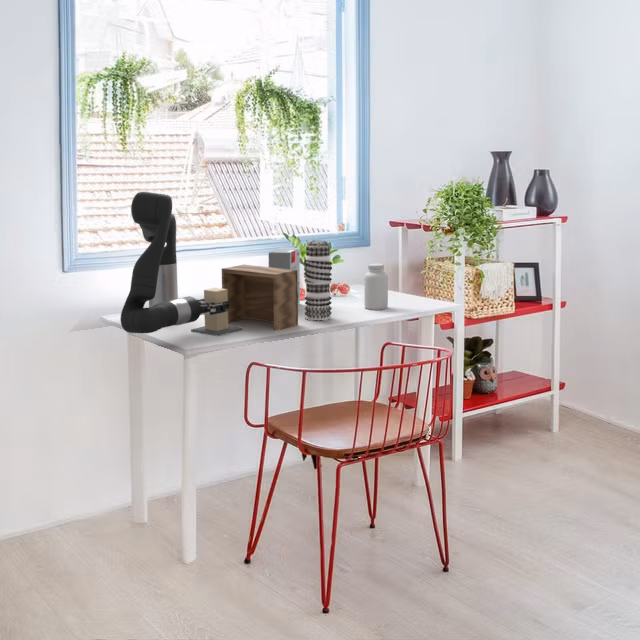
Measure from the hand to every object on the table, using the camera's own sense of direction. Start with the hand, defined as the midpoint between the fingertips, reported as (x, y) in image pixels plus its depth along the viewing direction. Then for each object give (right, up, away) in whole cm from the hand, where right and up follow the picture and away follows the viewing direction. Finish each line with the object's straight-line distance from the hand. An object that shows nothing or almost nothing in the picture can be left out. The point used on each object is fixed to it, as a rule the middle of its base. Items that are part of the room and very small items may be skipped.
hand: (218, 303), depth 290 cm
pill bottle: (+50, -1, +36) cm, 62 cm away
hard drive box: (+19, -1, +38) cm, 42 cm away
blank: (-1, -8, +1) cm, 8 cm away
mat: (0, -8, +1) cm, 8 cm away
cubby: (+12, -6, +11) cm, 17 cm away
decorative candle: (+30, -5, +19) cm, 36 cm away
